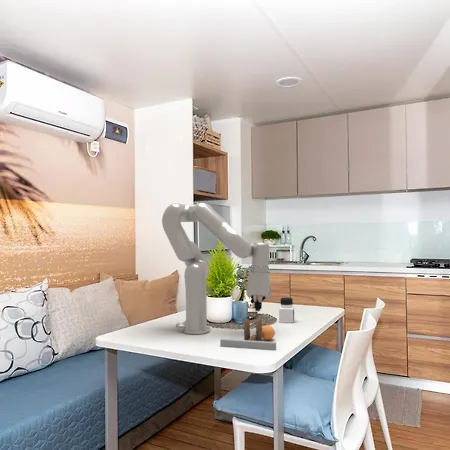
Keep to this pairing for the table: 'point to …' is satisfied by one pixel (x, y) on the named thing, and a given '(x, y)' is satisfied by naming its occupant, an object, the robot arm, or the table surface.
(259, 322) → the back pin right
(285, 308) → the medicine bottle
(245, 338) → the back pin left
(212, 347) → the table surface
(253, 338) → the front pin
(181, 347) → the table surface
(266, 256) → the robot arm
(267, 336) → the ball
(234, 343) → the stopper rail
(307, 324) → the table surface
